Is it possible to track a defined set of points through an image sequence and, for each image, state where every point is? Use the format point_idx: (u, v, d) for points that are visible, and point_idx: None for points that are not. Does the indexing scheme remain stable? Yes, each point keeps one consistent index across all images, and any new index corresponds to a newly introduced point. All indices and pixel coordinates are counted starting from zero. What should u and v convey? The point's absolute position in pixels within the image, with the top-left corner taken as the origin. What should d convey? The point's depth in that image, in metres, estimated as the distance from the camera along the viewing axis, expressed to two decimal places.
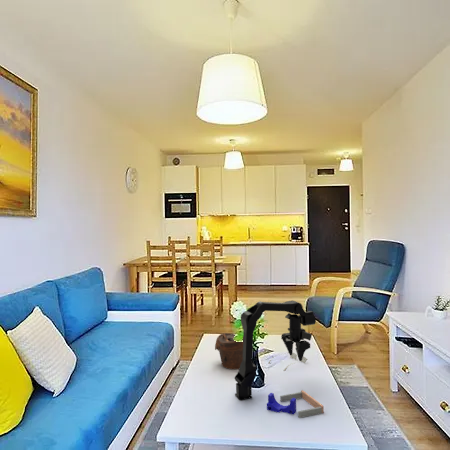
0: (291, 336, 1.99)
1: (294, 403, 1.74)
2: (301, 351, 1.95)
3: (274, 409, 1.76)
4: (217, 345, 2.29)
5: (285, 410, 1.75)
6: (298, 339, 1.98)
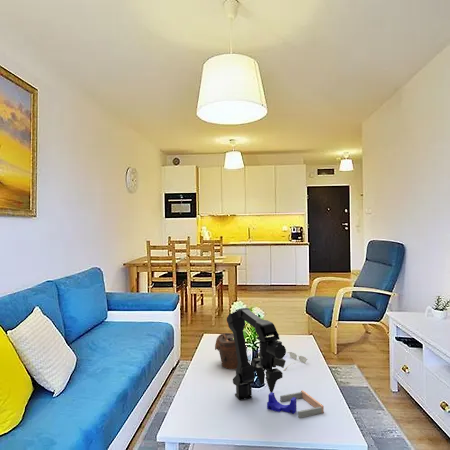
0: (261, 363, 1.72)
1: (295, 403, 1.75)
2: (272, 381, 1.69)
3: (274, 408, 1.77)
4: (217, 345, 2.29)
5: (285, 409, 1.76)
6: (269, 367, 1.72)
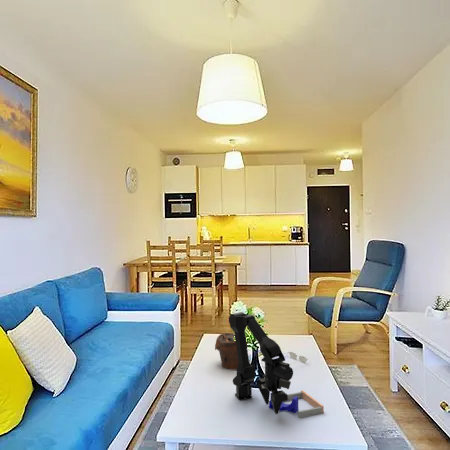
0: (267, 385, 1.73)
1: (296, 402, 1.75)
2: (277, 403, 1.70)
3: None
4: (217, 345, 2.29)
5: (287, 408, 1.76)
6: (274, 388, 1.72)
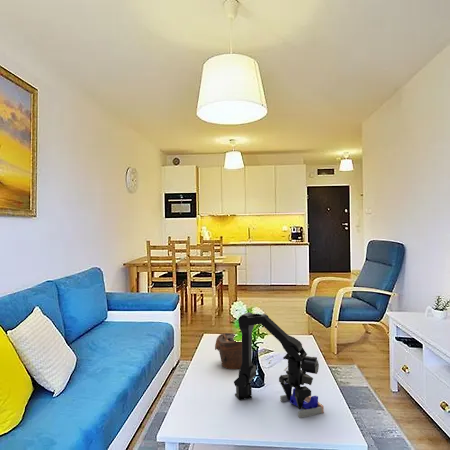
0: (290, 380, 1.77)
1: (315, 401, 1.76)
2: (301, 398, 1.74)
3: (296, 403, 1.80)
4: (217, 345, 2.29)
5: (306, 406, 1.78)
6: (298, 384, 1.76)
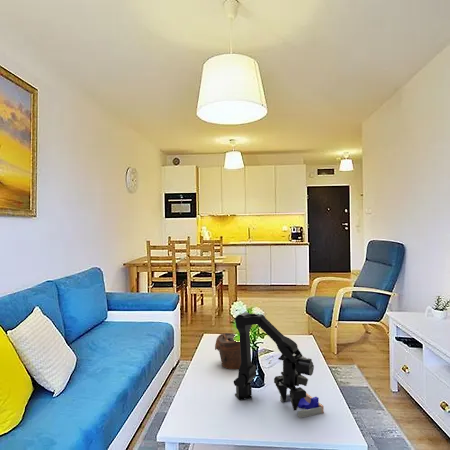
0: (285, 382, 1.76)
1: (315, 402, 1.75)
2: (296, 400, 1.73)
3: None
4: (217, 345, 2.29)
5: (307, 407, 1.78)
6: (293, 385, 1.76)
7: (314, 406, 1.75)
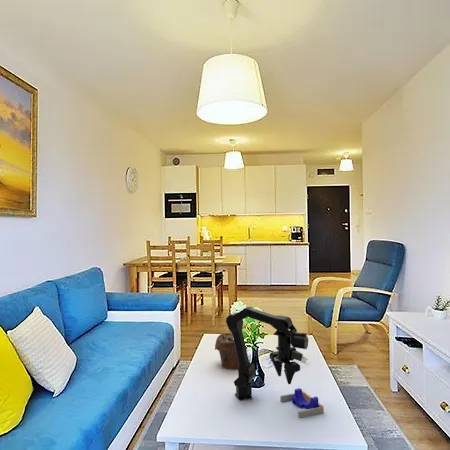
0: (280, 356, 1.79)
1: (315, 402, 1.75)
2: (290, 373, 1.76)
3: (297, 404, 1.81)
4: (217, 345, 2.29)
5: (307, 407, 1.78)
6: (287, 360, 1.78)
7: (314, 406, 1.75)
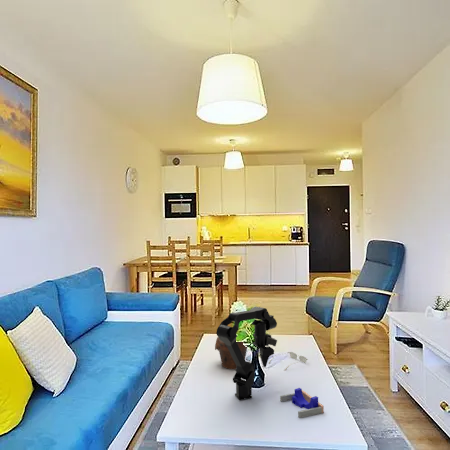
0: (256, 342, 1.99)
1: (315, 402, 1.76)
2: (265, 357, 1.95)
3: (297, 403, 1.81)
4: (217, 345, 2.29)
5: (307, 406, 1.78)
6: (263, 345, 1.98)
7: (314, 406, 1.75)
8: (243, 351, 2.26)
